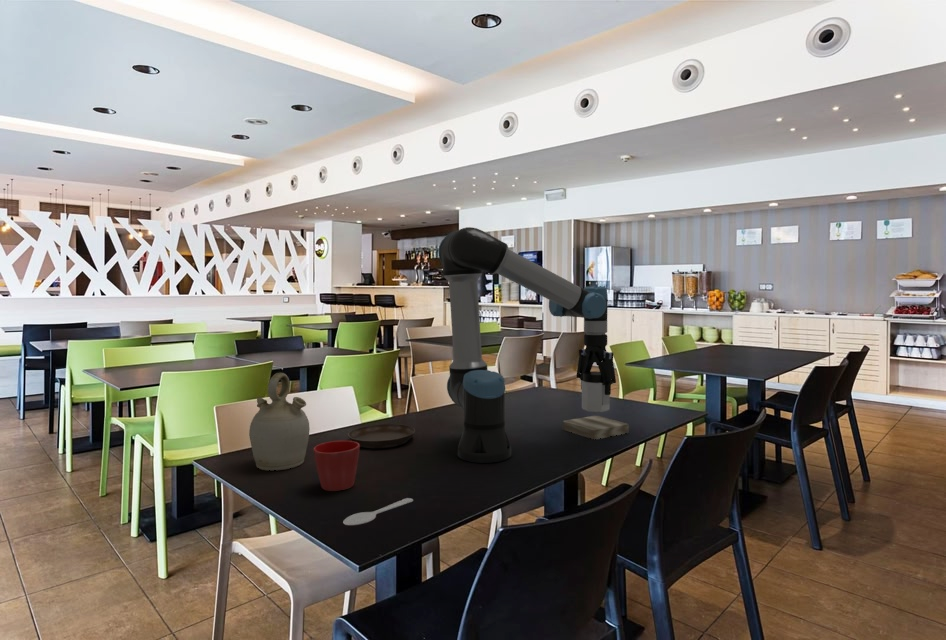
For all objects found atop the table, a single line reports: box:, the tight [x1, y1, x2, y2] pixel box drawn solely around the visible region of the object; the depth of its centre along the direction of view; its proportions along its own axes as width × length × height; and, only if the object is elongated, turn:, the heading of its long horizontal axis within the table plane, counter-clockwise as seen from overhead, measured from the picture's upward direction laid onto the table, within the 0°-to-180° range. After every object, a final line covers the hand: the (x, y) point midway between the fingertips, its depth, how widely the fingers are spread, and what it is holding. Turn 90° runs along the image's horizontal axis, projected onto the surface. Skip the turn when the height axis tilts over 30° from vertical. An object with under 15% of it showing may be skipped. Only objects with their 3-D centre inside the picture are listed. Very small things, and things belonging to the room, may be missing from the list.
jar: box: [581, 371, 611, 413], centre depth 182 cm, size 9×8×12 cm
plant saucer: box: [347, 423, 416, 449], centre depth 173 cm, size 21×21×3 cm
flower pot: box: [313, 440, 361, 492], centre depth 133 cm, size 11×11×10 cm
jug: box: [248, 372, 310, 472], centre depth 150 cm, size 15×16×25 cm
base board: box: [562, 414, 630, 441], centre depth 183 cm, size 15×15×3 cm
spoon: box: [342, 497, 414, 526], centre depth 118 cm, size 5×18×1 cm, turn 138°
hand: (595, 402), depth 182 cm, fingers closed on jar, 9 cm apart
